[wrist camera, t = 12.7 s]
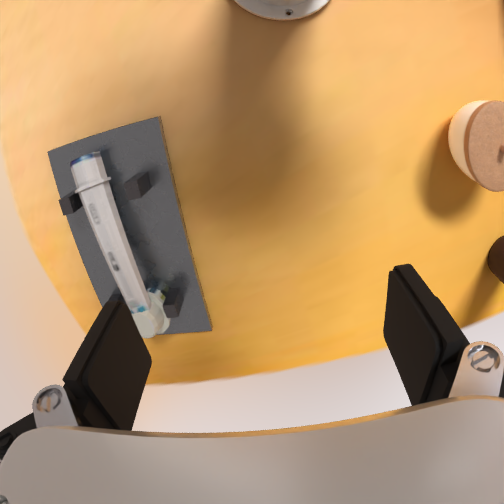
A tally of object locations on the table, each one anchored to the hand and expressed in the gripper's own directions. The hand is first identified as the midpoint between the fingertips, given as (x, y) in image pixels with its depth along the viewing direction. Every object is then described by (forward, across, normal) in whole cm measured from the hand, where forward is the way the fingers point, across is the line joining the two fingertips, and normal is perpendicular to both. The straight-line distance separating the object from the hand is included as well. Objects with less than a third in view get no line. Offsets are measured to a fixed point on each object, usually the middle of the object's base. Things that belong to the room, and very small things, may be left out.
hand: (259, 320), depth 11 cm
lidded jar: (+28, -28, -1) cm, 40 cm away
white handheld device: (+28, +18, +8) cm, 34 cm away
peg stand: (+28, +18, +8) cm, 34 cm away
